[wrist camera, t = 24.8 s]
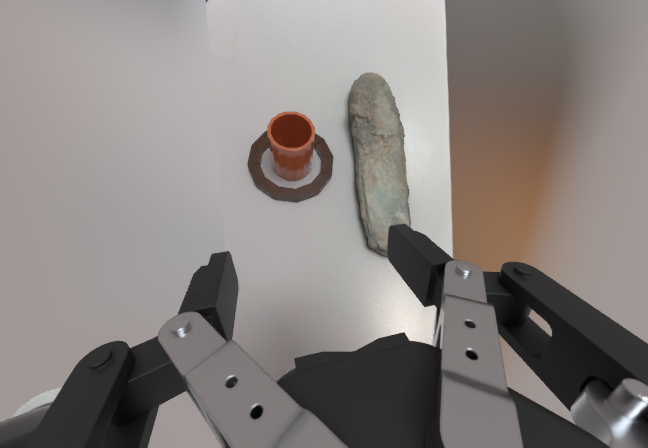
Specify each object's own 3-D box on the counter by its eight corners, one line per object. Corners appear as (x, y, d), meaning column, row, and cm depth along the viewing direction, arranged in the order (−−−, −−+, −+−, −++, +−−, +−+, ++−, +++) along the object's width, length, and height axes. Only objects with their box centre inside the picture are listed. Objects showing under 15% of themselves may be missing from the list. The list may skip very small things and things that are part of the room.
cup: (281, 185, 41) (277, 156, 33) (267, 153, 43) (260, 118, 35) (317, 173, 43) (322, 142, 35) (302, 142, 44) (303, 106, 36)
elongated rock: (352, 258, 40) (410, 258, 42) (362, 254, 35) (428, 253, 37) (341, 79, 49) (389, 84, 51) (348, 55, 44) (401, 61, 45)
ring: (267, 213, 40) (266, 210, 38) (238, 143, 43) (236, 139, 42) (344, 184, 43) (346, 181, 41) (312, 121, 46) (312, 116, 45)
